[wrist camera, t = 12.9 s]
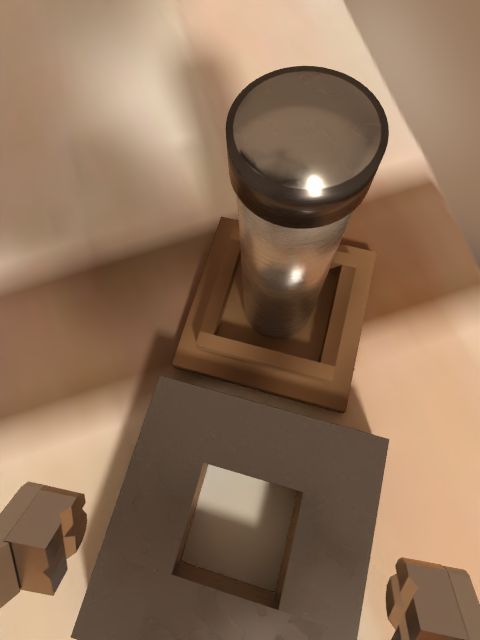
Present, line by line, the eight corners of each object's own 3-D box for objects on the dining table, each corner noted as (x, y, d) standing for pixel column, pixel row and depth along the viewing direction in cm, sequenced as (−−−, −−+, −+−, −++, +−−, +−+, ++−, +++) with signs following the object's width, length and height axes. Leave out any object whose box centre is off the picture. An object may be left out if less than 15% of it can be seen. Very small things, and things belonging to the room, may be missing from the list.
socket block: (91, 616, 21) (70, 637, 18) (169, 383, 24) (159, 375, 22) (330, 700, 19) (341, 734, 17) (374, 441, 23) (389, 439, 20)
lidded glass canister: (231, 331, 24) (205, 176, 11) (251, 265, 25) (249, 54, 12) (305, 350, 24) (373, 212, 10) (322, 282, 25) (400, 81, 12)
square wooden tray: (174, 367, 24) (167, 359, 22) (222, 223, 27) (219, 205, 25) (342, 413, 23) (350, 409, 21) (373, 258, 26) (382, 242, 24)
